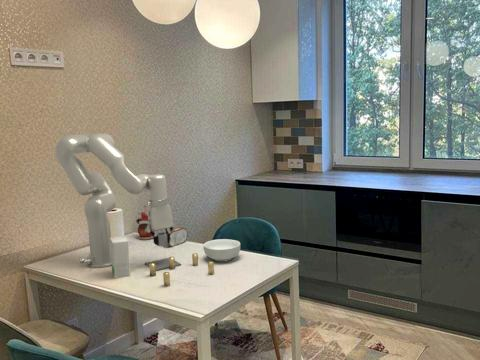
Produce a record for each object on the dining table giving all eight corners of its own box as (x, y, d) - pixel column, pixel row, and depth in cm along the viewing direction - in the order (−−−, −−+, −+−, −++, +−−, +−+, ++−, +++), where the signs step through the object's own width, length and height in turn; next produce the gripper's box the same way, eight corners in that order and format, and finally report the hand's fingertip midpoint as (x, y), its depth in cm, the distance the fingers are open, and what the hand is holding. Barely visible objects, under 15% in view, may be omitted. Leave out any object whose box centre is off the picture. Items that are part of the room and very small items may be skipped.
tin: (184, 240, 246) (183, 224, 244) (189, 241, 244) (188, 225, 242) (164, 248, 233) (163, 231, 232) (169, 248, 232) (167, 232, 230)
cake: (159, 235, 257) (157, 203, 254) (153, 240, 248) (151, 207, 245) (141, 235, 259) (139, 203, 256) (134, 240, 250) (132, 207, 247)
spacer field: (165, 286, 181) (164, 274, 180) (146, 273, 197) (146, 262, 196) (215, 273, 193) (214, 262, 193) (194, 262, 209) (193, 251, 208)
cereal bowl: (233, 266, 202) (232, 250, 201) (198, 263, 208) (197, 247, 207) (246, 254, 218) (245, 239, 217) (213, 251, 224) (212, 237, 222)
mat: (155, 271, 199) (155, 269, 199) (145, 264, 209) (145, 262, 209) (181, 265, 206) (181, 263, 206) (169, 258, 216) (169, 257, 216)
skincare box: (112, 272, 200) (109, 237, 198) (127, 270, 202) (124, 235, 200) (115, 279, 192) (111, 242, 190) (131, 276, 195) (128, 240, 192)
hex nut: (160, 247, 203) (159, 235, 202) (155, 244, 207) (154, 233, 206) (169, 244, 205) (168, 233, 204) (164, 242, 210) (163, 231, 209)
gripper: (143, 207, 196) (147, 249, 198) (180, 201, 205) (183, 241, 207) (137, 204, 202) (140, 245, 205) (172, 198, 211) (175, 238, 214)
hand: (162, 243), depth 206 cm, fingers closed on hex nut, 4 cm apart
